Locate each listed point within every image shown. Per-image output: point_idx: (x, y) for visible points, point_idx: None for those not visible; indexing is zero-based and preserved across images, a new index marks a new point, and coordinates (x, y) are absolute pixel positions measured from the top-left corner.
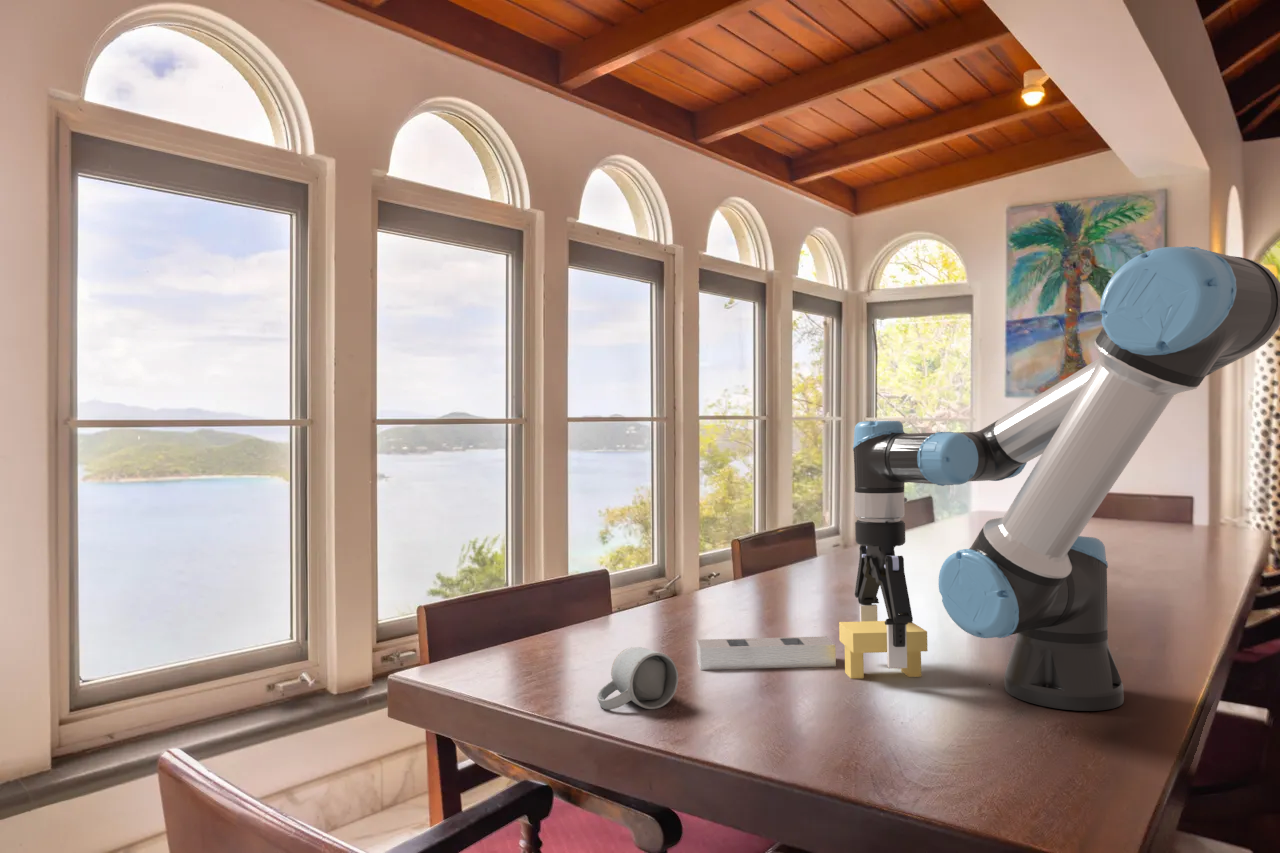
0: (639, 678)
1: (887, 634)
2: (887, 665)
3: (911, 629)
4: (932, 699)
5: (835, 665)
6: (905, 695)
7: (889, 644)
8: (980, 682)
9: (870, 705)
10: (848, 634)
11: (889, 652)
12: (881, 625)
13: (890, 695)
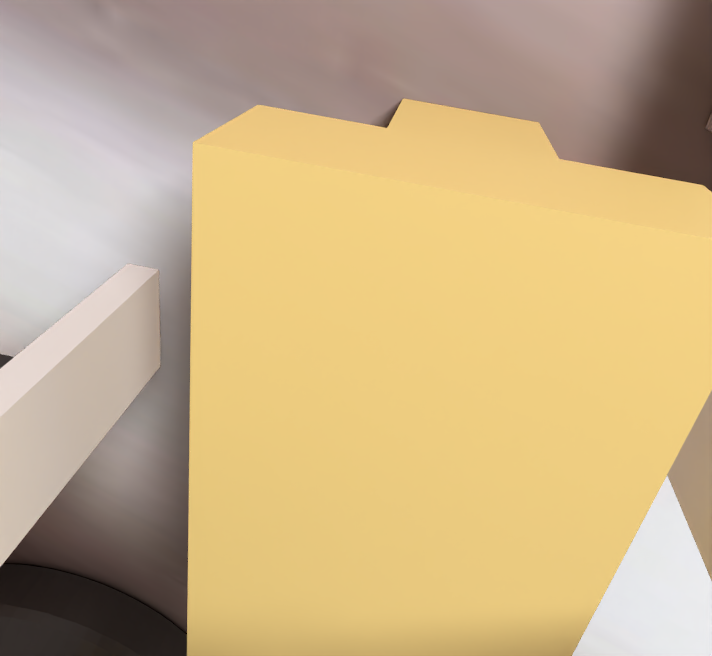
0: None
1: (11, 383)
2: (155, 274)
3: (255, 620)
4: (17, 320)
5: (708, 127)
6: (72, 240)
7: (40, 343)
8: None
9: None
10: (380, 161)
11: (75, 313)
12: (443, 530)
13: (72, 168)
